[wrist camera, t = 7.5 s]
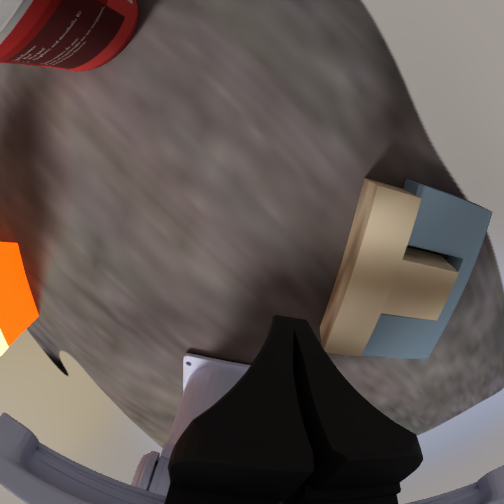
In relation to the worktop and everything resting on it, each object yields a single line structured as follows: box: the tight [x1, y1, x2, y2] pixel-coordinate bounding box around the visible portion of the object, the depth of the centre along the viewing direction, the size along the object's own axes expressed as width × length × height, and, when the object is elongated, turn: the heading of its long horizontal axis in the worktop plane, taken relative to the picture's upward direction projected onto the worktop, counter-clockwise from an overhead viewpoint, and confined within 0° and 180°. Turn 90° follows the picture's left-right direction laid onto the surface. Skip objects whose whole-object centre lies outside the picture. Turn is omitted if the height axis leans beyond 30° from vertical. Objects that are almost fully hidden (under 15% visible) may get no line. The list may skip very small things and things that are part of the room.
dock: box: [362, 179, 492, 359], centre depth 19 cm, size 13×7×2 cm, turn 171°
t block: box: [319, 178, 459, 357], centre depth 19 cm, size 12×8×3 cm, turn 171°
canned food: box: [0, 0, 139, 72], centre depth 9 cm, size 8×8×11 cm
